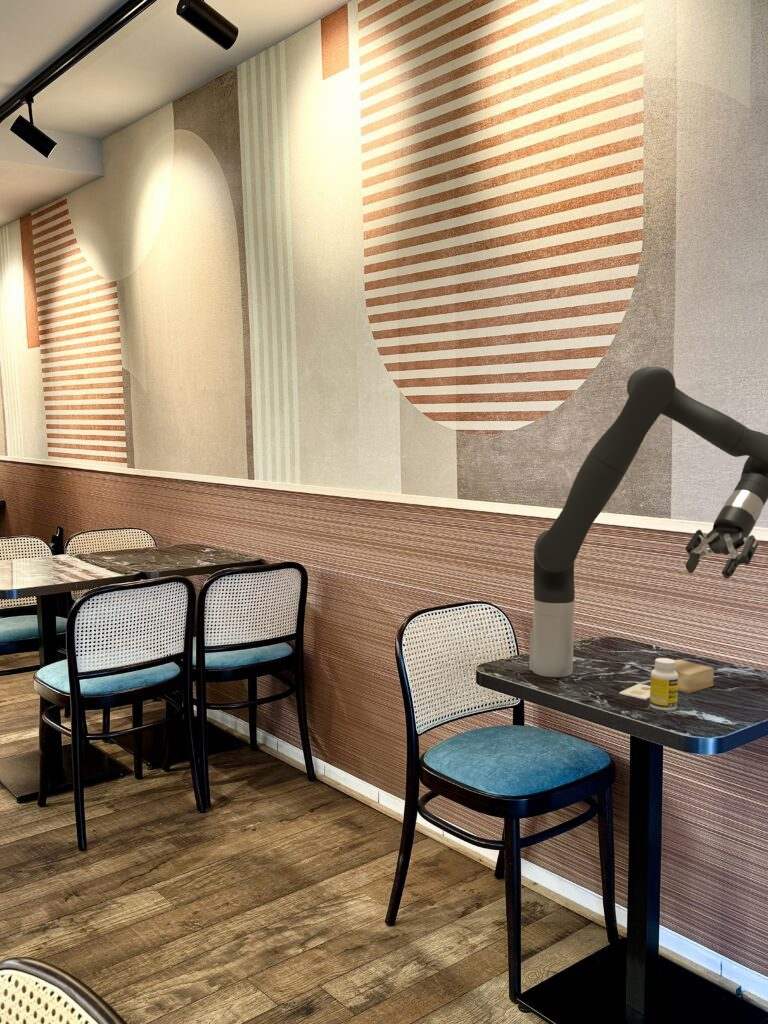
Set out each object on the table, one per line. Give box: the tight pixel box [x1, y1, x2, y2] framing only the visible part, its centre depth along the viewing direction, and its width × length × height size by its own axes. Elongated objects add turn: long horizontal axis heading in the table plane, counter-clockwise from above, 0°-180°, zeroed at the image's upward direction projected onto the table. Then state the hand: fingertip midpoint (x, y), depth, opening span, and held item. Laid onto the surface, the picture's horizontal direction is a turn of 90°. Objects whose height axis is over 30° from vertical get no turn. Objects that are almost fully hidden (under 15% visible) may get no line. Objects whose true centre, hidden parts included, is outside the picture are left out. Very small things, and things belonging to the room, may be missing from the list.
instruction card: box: [619, 683, 650, 701], centre depth 194 cm, size 6×9×1 cm, turn 137°
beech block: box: [653, 659, 715, 694], centre depth 200 cm, size 9×9×4 cm
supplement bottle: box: [649, 657, 679, 712], centre depth 183 cm, size 5×5×10 cm
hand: (706, 573), depth 189 cm, fingers open, 8 cm apart
